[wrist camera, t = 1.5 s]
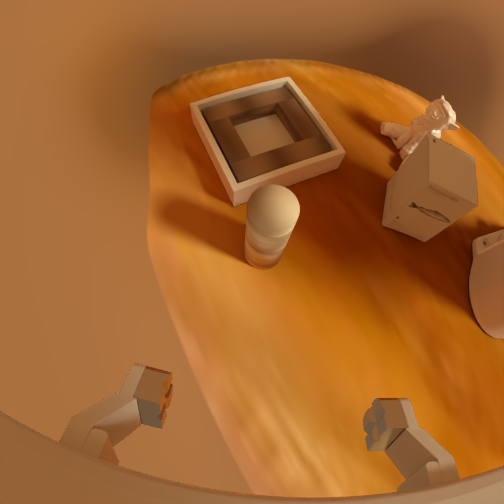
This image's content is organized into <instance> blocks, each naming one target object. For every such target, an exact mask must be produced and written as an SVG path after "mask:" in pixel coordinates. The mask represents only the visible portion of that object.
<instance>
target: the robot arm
mask: <svg viewBox="0 0 504 504" xmlns="http://www.w3.org/2000/svg"><path fill="white" fill-rule="evenodd" d="M472 250H473V263H472V267H471V271H470V277H469V293H470V300H471V305H472V309H473V312H474V314H475V317H476V319H477V321H478V323H479V324H480V326H481V327H482V329H483V330H484V331H485V332H486V333H487V334H489V335H490V336H492V337H494V338H503V339H504V229H502V230H499V231H496V232H493V233H490V234H487V235H484V236H481V237H478V238H476V239H474V240H473V243H472ZM171 381H172V373H171V372H168V371H164V370H160V369H156V368H153V367H149V366H145V365H142V364H138V363H134V364H133V365H132V367H131V369H130V372H129V373H128V375H127V378H126V380H125V382H124V384H123V386H122V388H121V391H120V392H119V393H117V392H115V393H114V394H112V395H110V396H108V397H107V398H105V399H103V400H101V401H100V402H98V403H96V404H95V405H93V406H91V407H89V408H87V409H86V410H84V411H82V412H80V413H78V414H77V415H75V416H73V417H72V418H71V419H70V421H69V423H68V425H67V428H66V429H65V431H64V433H63V435H62V437H61V439H60V441H59V442H58V441H55V440H53V439H51V438H49V437H47V436H45V435H43V434H41V433H39V432H37V431H35V430H33V429H31V428H29V427H27V426H26V425H24V424H22V423H20V422H18V421H17V420H15V419H13V418H11V417H10V416H8V415H6V414H5V413H3V412H1V411H0V504H504V466H501V467H498V468H495V469H492V470H489V471H486V472H483V473H480V474H477V475H473V476H470V477H466V478H463V479H460V478H459V475H458V471H457V468H456V465H455V461H454V458H453V457H452V456H451V455H450V454H449V453H448V452H447V451H446V450H445V449H444V448H443V447H442V446H441V445H440V444H439V443H438V442H436V441H435V440H434V439H433V438H432V437H431V436H430V435H429V434H428V433H427V432H426V431H425V430H424V429H423V428H422V427H418V424H417V420H416V417H415V414H414V411H413V408H412V405H411V402H410V400H409V399H408V398H376V399H375V400H374V401H373V403H372V406H373V407H371V408H369V409H368V410H367V411H366V413H365V415H364V419H363V428H364V431H365V432H366V433H367V434H368V435H367V436H366V438H365V439H366V445H367V451H385V453H386V454H387V455H388V457H389V458H390V459H391V460H392V462H393V463H394V464H395V466H396V467H397V468H398V470H399V471H400V472H401V474H402V475H403V476H404V477H405V479H406V481H404V482H403V483H402V484H401V485H399V486H398V488H397V490H398V492H392V493H384V494H375V495H364V496H350V497H322V498H308V497H279V496H265V495H254V494H244V493H236V492H229V491H222V490H216V489H210V488H204V487H198V486H194V485H188V484H184V483H179V482H175V481H171V480H167V479H163V478H159V477H155V476H151V475H148V474H144V473H140V472H137V471H134V470H131V469H127V468H124V467H121V466H118V464H119V460H118V458H117V456H116V453H115V451H114V449H113V447H114V446H115V445H117V444H118V443H119V442H120V441H122V440H123V439H124V438H126V437H127V436H128V435H129V434H131V433H132V432H133V431H134V430H136V429H137V428H138V427H140V426H141V424H145V425H149V426H153V427H157V428H163V425H164V421H165V418H166V409H167V408H168V407H169V406H170V402H171V398H172V392H173V386H172V384H171Z"/></svg>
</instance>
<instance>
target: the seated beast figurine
mask: <svg viewBox="0 0 504 504" xmlns="http://www.w3.org/2000/svg"><path fill="white" fill-rule="evenodd" d="M425 113H426V115H423V114H422V115H421V116H420V117H417V118H414V119H412V121H411V127H408V126H402V125H399V124H397V123H392V122H390V123H387V122H382V123H381V126H380V131H381V132H380V133H381V134H382V135H384V136H388V137H390V138H391V140H392V141H393V143H394V144H395V146H397V147H396V148H397V149H400V153H399V154H401V156H400V157H401V158H402V159H403V162H402V163H401V164H400V166H399V168H400V167H401V166H402V164H403V163H404V162H405V161H406V159H407V158H408V157H409V156H410V154H411V153H412V152H413V151H414V149H415V148H416V147H417V146H418V144H419V143H420V142H421V140H422V139H423V138H424V137H425V135H426V134H427V133H429V134H431V135H433V136H435V137H437V138H439V139H440V138H441V130H442V131H445V130H448V129H449V130H457V129H459V128H460V127H459V126H458V125H456V124H455V121H456V114H455V112H454V110H452V107H451V106H450V104H449V103H448V102H447V101H445V99H444V97H443V96H442V97H441V99H438V100H435V101H434V102H430V103H429V106H428V108H426V112H425ZM396 139H397V140H396ZM401 149H402V150H401Z"/></svg>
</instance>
